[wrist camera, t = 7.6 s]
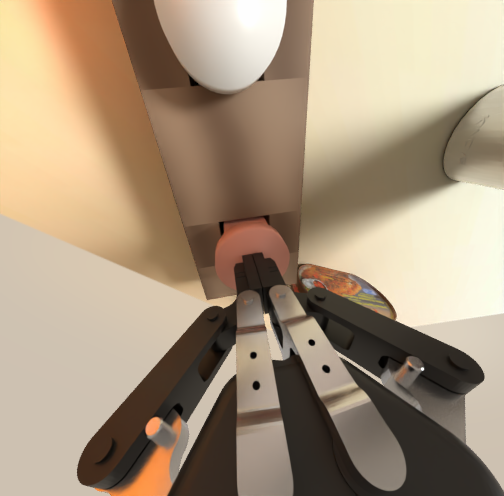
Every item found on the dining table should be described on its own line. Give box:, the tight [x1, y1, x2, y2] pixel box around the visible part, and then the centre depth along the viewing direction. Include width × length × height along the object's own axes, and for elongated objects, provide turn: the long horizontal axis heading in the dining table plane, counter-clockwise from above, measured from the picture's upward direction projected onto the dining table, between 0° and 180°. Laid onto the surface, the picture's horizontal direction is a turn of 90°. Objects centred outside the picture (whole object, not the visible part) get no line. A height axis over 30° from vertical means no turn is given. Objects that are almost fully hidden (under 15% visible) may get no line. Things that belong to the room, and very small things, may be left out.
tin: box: [291, 264, 397, 320], centre depth 25 cm, size 15×3×8 cm, turn 69°
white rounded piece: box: [154, 0, 287, 94], centre depth 10 cm, size 6×6×6 cm
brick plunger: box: [215, 216, 290, 290], centre depth 16 cm, size 6×6×6 cm
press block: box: [112, 0, 314, 300], centre depth 15 cm, size 10×26×5 cm, turn 5°
